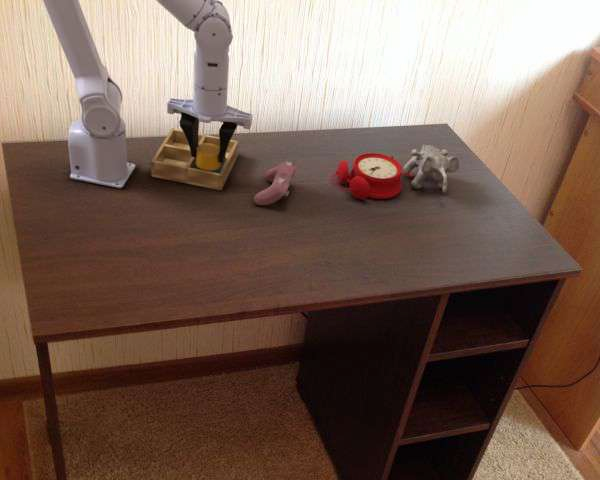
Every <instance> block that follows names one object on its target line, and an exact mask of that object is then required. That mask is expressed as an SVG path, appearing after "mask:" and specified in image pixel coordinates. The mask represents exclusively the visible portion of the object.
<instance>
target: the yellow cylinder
mask: <svg viewBox="0 0 600 480" xmlns="http://www.w3.org/2000/svg"><path fill="white" fill-rule="evenodd" d="M219 151H220V147H219V146H217V145H215V144H211V143H203V144H200V145H198V146H197V148H196V165H197V167H198V168H200V169H202V170H206V171H213V170H216V169H218V168H219V167H220V164H221V163H219Z"/></svg>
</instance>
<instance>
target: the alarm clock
mask: <svg viewBox="0 0 600 480" xmlns="http://www.w3.org/2000/svg"><path fill="white" fill-rule="evenodd" d="M335 176H337V180H338V182H339V183H340V184H341V185H346V184H348V187H342V186H341V185H338V184H337V183H336V182H335V181H334V179H333V177H335ZM402 176H403V177H411V178H413V177H414V174H408V175H407V174H403V167H402V165H401V164H400V162H399V161H397V160H396V159H395V158H394V155H391V156H388V155H386V154H381V153H377V152H369V153H363V154H360V155H358V156H357V157H355V159H354V161H353V163H352V169H351V171H350V172H349V163H348V161H347V160H341V161H340V162H339V164H338V165H337V170H335V171H334V174H332V175H331V176H330V181H331V182H332V184H333V185H335V186H336V187H337V188H339V189H341V190H345V191H347V190H349V192H350V194H351V196H352V197H354V198H355V199H357V200H360V201H362V200H365V199H367V198H370V199H377V200H386V199H392V198H394V197H396V196H398V195H399V194H400V193H401V191H402V188H403V184H402V180H401V178H402Z"/></svg>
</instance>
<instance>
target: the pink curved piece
mask: <svg viewBox="0 0 600 480" xmlns="http://www.w3.org/2000/svg"><path fill="white" fill-rule="evenodd" d="M297 168H298V166H296V165H295V164H294V163H292V162H289V161H288V160H286V161H282V163H280V164H279V165H277V166H274V167H272V168H270V169H268V170H267V171H266V172H265V174H264V175H265V176H264V178H265V180H266V181H267V182H270V183H272V184H271V185H270V186H269V187H267V188H266V189H263V190H261V191H259V192H258V193H256V194H255V195H254V197H253V201H254V204H256V205H257V206H268V205H270V204H273V203H275V202H278V201H279V200H281V199H282V198H283V196H284V197H288V195H289V194H290V190H288V189H289V187H290V181H291V179H292V178H293V176H294V175H295V172H296V170H297Z"/></svg>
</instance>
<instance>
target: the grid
mask: <svg viewBox="0 0 600 480" xmlns="http://www.w3.org/2000/svg"><path fill="white" fill-rule="evenodd" d="M198 141H199V145H200V144H203V143H211V144H215V145H217V146H219V147H220V137H219V136H215V135H214V136H213V135H209V134H205V133H199V132H198ZM239 143H240V142H239V140H235V139H230V142H229V145H228V148H227V151H226V156H225V159H224V162H223V163H221V164H220V167H219V168H218V169H216V170H213V171H206V170H202V169H200V168H198V167H197V165H196V157H195V158H194V157H192V156H191V151H190V147H189V144H188V141H187V138H186V136H185V134H184V132H183V130H182V129H179V128H174V127H171V129H170V130H169V132H168V133H167V135H166V136H165V139H164V140H163V142H162V143H161V145H160V146H159V148H158V149H157V151H156V153H155V155H154V156H153V158H152V160H151V161H150V168H151V169H150V171H151V177H153V178H158V179H162V180H167V181H173V182H176V183H177V182H178V183H183V184H188V185H192V186H198V187H203V188H208V189H212V190H217V191H222V190H223V188H224V186H225V184H226V182H227V179H228V178H229V175H230V173H231V171H232V169H233V167H234V164H235V162H236V160H237V158H238V156H239Z"/></svg>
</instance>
